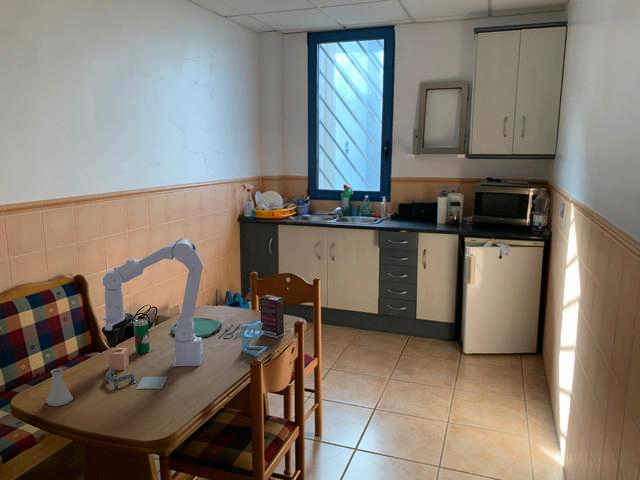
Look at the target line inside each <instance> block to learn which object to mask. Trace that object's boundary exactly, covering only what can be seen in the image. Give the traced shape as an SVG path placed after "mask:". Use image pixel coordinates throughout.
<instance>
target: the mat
mask: <svg viewBox="0 0 640 480" xmlns="http://www.w3.org/2000/svg"><path fill="white" fill-rule="evenodd" d="M167 379H168V375H167V376H142V378H141V380H140V382H139V383H138V385H137V386H136V388H135V390H158V389H159V390H160V389H161V390H162V389H163V387H164V385H165V383H166V381H167Z"/></svg>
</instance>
